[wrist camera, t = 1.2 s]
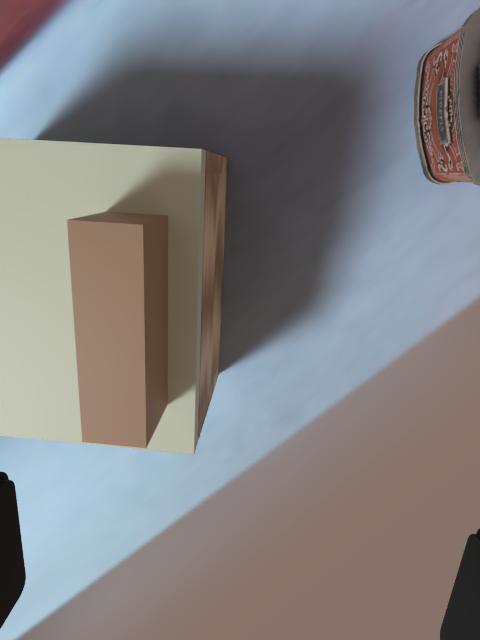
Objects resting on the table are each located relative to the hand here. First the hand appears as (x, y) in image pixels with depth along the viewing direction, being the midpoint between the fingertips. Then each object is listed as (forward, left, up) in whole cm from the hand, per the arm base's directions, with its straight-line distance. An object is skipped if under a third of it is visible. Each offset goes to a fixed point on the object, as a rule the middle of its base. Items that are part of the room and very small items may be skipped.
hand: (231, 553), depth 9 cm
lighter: (-11, +10, -24) cm, 29 cm away
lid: (0, -10, -15) cm, 18 cm away
